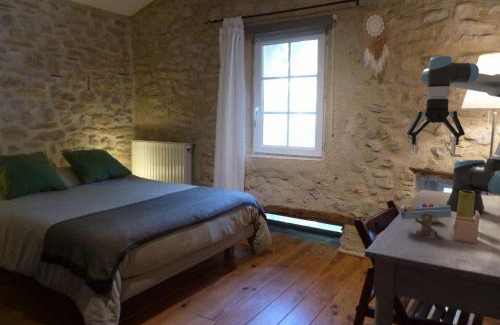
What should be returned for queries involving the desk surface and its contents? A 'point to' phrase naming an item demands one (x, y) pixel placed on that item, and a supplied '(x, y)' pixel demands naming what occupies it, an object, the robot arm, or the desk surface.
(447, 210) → the lever
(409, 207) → the ball
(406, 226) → the desk surface
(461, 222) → the pink square box
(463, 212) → the vase
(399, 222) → the desk surface
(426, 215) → the fulcrum
